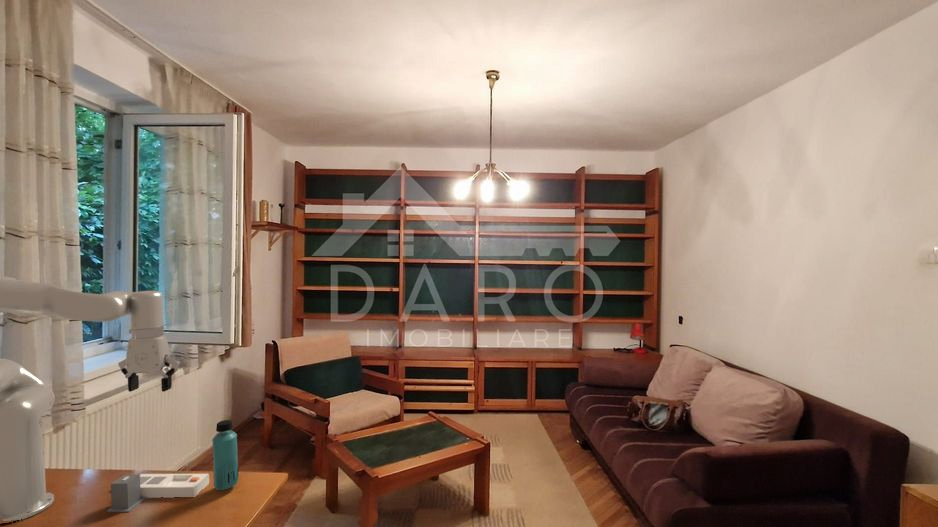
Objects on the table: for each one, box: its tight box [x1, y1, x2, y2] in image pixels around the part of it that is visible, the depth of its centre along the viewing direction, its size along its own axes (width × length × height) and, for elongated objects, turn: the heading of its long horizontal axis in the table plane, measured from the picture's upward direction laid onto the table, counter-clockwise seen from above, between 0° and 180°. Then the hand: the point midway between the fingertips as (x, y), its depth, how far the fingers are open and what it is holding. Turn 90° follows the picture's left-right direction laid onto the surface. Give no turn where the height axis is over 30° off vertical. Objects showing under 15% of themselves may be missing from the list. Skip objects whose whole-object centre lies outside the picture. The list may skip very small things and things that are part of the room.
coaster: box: [106, 497, 147, 513], centre depth 115 cm, size 6×6×1 cm
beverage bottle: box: [211, 419, 240, 491], centre depth 123 cm, size 6×7×20 cm
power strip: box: [140, 473, 210, 499], centre depth 122 cm, size 26×7×4 cm, turn 91°
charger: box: [110, 473, 141, 509], centre depth 115 cm, size 4×4×7 cm
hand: (150, 390), depth 125 cm, fingers open, 9 cm apart
